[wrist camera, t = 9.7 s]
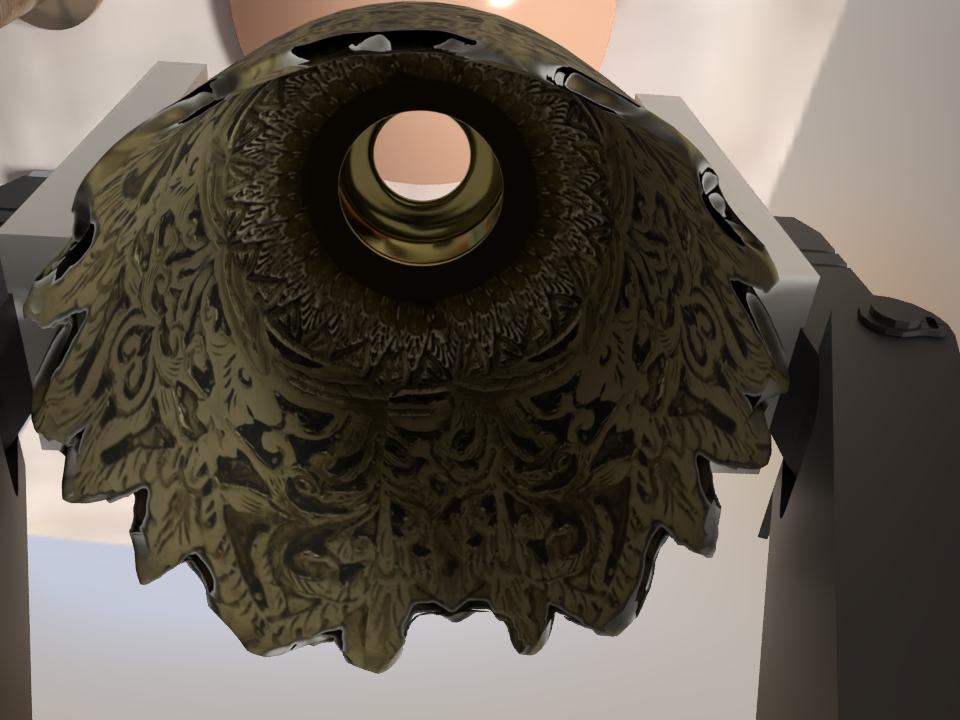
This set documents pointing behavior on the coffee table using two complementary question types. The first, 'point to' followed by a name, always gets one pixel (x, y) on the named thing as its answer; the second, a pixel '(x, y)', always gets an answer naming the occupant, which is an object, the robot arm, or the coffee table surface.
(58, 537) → the coffee table surface
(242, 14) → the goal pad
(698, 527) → the ornate lamp shade
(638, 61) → the coffee table surface
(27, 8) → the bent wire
